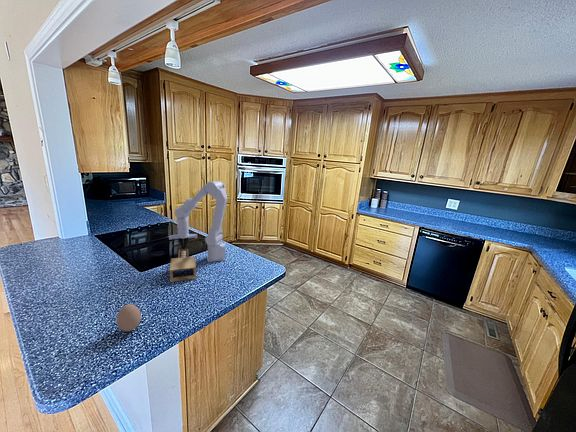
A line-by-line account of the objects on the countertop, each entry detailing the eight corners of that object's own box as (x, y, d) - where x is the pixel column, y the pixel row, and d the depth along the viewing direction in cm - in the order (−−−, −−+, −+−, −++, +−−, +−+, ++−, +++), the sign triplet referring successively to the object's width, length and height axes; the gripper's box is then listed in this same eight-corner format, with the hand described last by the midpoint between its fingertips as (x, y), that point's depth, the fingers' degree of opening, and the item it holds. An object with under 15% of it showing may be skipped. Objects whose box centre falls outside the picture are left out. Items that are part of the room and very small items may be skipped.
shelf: (195, 267, 121) (194, 256, 120) (196, 278, 111) (195, 267, 109) (171, 269, 117) (171, 258, 115) (170, 281, 106) (169, 269, 105)
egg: (116, 328, 77) (113, 304, 75) (138, 319, 82) (136, 297, 80) (120, 340, 73) (117, 315, 71) (144, 330, 77) (142, 306, 75)
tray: (188, 256, 133) (188, 248, 132) (188, 266, 121) (188, 258, 120) (179, 257, 131) (178, 249, 130) (178, 267, 119) (177, 259, 118)
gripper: (196, 225, 138) (196, 246, 141) (169, 226, 132) (170, 248, 136) (197, 228, 132) (197, 251, 135) (168, 230, 126) (169, 253, 129)
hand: (183, 250), depth 135 cm, fingers closed
